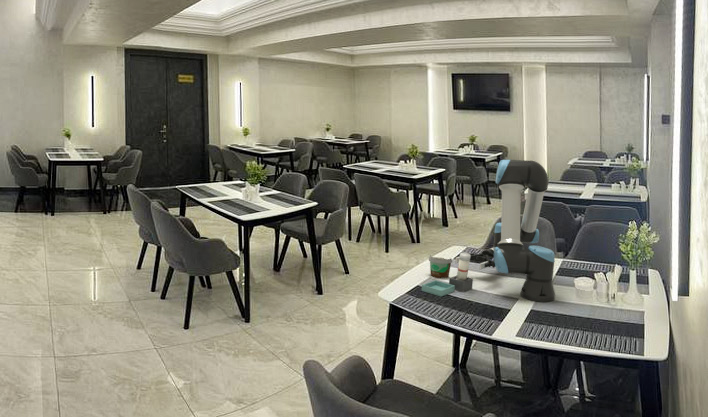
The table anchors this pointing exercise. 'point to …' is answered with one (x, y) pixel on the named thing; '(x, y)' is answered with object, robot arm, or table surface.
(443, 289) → the parts tray
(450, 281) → the socket block
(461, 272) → the fuse
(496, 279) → the table surface
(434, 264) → the food container
